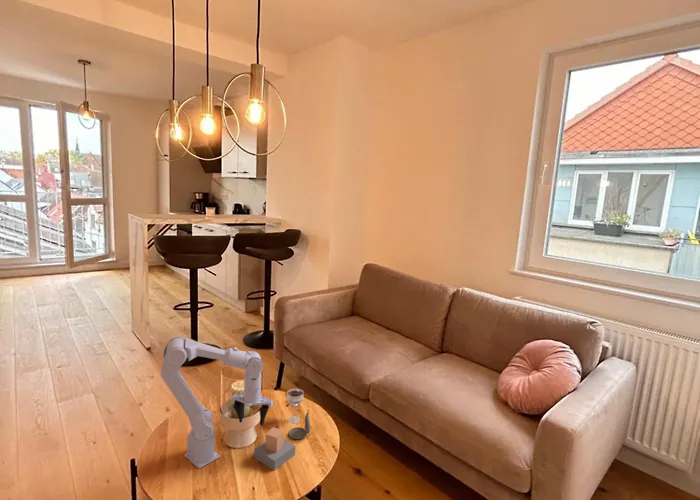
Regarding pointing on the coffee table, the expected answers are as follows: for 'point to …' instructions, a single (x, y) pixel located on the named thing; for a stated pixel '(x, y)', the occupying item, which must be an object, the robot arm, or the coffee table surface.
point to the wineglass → (295, 402)
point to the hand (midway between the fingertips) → (251, 422)
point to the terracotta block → (274, 439)
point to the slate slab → (274, 454)
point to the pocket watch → (301, 429)
